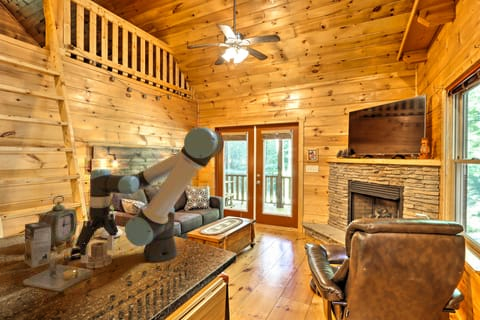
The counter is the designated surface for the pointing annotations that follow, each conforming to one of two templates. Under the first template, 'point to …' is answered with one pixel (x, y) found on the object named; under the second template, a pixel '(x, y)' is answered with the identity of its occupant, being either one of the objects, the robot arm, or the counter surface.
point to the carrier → (57, 277)
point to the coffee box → (37, 244)
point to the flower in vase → (120, 232)
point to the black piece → (72, 258)
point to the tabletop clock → (60, 222)
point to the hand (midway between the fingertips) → (98, 256)
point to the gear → (99, 255)
